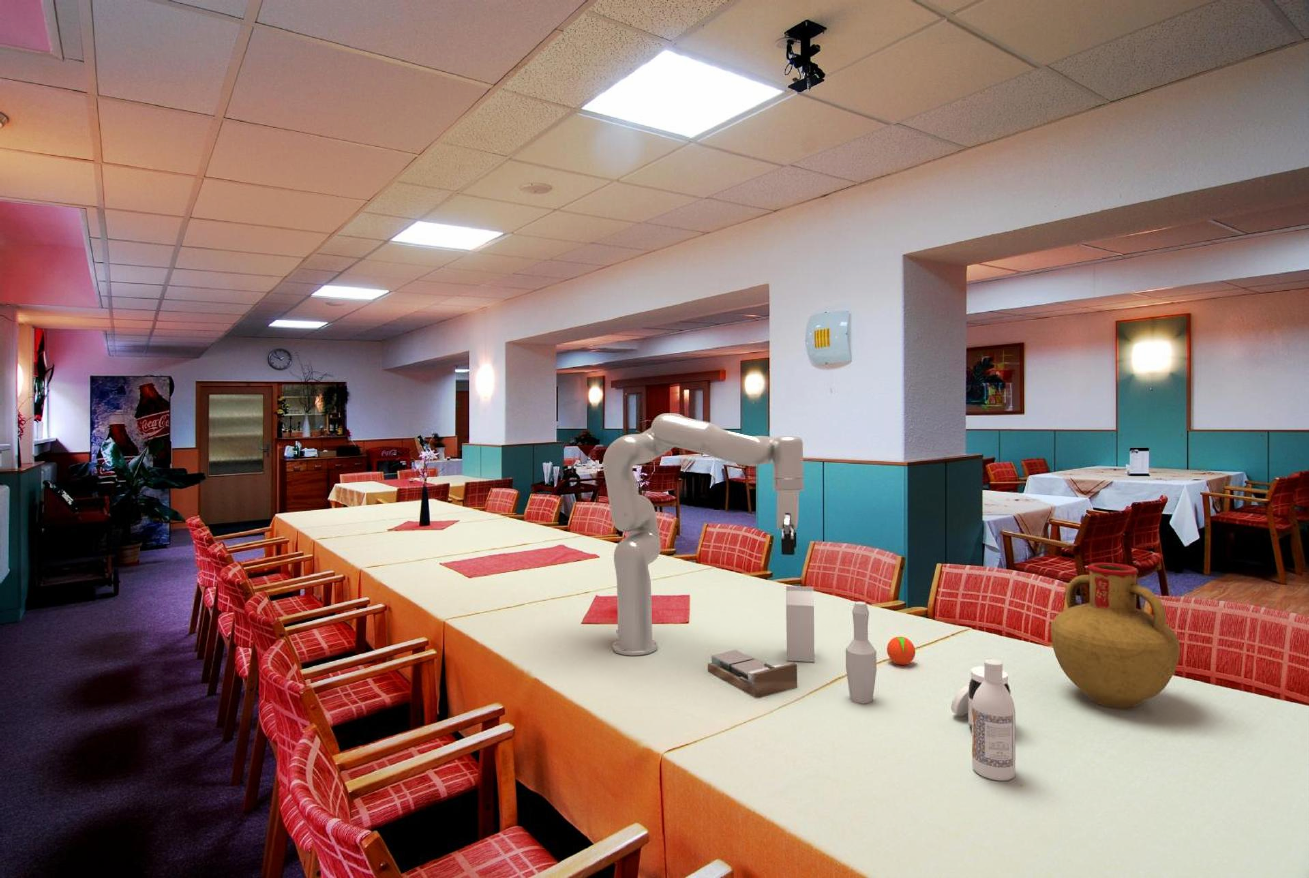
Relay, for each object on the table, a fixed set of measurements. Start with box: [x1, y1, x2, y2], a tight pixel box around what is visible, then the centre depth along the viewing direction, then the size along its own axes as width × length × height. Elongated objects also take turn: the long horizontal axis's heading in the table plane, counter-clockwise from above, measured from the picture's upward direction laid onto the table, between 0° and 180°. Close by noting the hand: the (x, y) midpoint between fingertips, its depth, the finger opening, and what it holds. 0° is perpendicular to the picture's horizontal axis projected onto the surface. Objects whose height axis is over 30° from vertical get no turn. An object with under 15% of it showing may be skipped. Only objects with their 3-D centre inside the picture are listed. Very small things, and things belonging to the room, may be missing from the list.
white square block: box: [731, 658, 766, 680], centre depth 168 cm, size 8×8×4 cm
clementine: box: [886, 636, 916, 666], centre depth 176 cm, size 8×7×7 cm
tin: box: [711, 649, 754, 673], centre depth 175 cm, size 8×8×4 cm
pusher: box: [748, 664, 782, 683], centre depth 164 cm, size 1×9×4 cm, turn 120°
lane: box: [707, 653, 798, 699], centre depth 168 cm, size 20×12×6 cm, turn 30°
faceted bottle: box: [845, 601, 878, 705], centre depth 155 cm, size 6×6×22 cm
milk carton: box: [785, 585, 816, 663], centre depth 183 cm, size 7×7×19 cm
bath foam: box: [971, 658, 1016, 782], centre depth 123 cm, size 7×7×20 cm
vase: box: [1050, 562, 1181, 709], centre depth 152 cm, size 24×24×30 cm
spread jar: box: [950, 665, 1012, 729], centre depth 142 cm, size 12×11×12 cm
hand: (789, 550), depth 176 cm, fingers open, 9 cm apart
